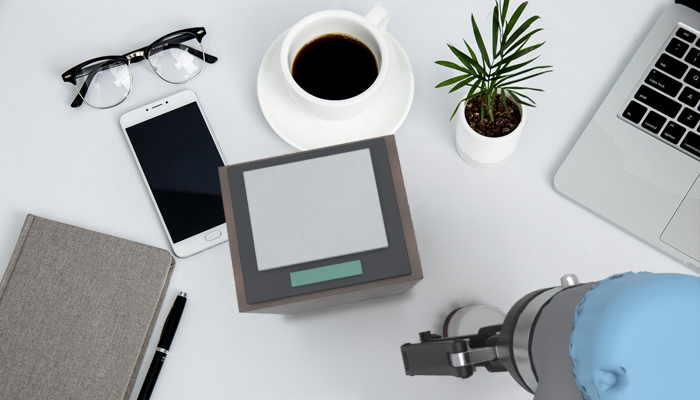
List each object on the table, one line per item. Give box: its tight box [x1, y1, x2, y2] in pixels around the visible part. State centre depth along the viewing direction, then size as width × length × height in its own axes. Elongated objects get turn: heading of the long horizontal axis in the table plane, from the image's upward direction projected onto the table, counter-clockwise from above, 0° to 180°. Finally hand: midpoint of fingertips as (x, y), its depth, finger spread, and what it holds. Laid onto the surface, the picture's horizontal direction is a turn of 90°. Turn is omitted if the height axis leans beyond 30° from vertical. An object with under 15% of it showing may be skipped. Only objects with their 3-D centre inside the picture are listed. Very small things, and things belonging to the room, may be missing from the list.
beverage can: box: [442, 303, 507, 338], centre depth 75 cm, size 7×6×15 cm
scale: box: [227, 138, 412, 305], centre depth 52 cm, size 12×14×2 cm
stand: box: [217, 133, 425, 315], centre depth 69 cm, size 13×16×32 cm
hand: (502, 335), depth 59 cm, fingers open, 13 cm apart
